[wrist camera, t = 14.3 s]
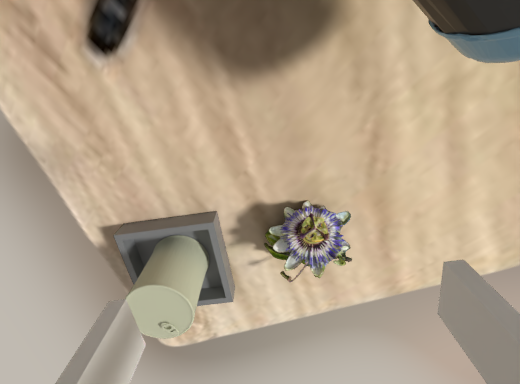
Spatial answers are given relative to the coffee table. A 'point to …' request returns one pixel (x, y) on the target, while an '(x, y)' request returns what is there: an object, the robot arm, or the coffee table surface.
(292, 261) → the passion flower
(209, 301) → the tray
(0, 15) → the coffee table surface
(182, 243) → the can
